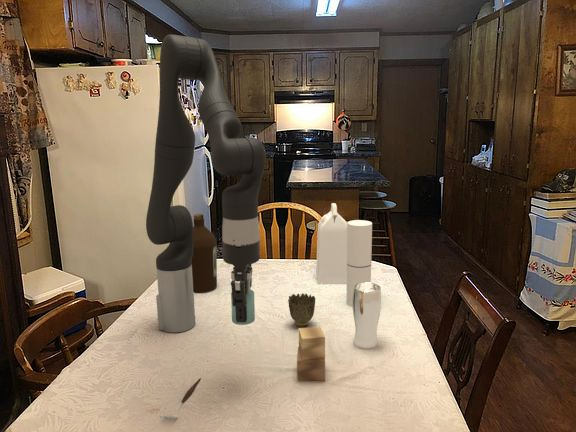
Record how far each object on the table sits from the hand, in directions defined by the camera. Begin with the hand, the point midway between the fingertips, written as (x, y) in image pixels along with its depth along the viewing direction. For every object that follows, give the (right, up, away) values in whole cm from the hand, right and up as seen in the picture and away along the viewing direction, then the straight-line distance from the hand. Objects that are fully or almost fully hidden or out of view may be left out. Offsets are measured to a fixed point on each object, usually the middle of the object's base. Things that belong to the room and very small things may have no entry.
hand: (243, 315), depth 99 cm
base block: (+15, -14, +6) cm, 21 cm away
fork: (-12, -17, -3) cm, 21 cm away
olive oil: (-19, -3, +58) cm, 61 cm away
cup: (+13, -9, +29) cm, 33 cm away
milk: (+25, -1, +65) cm, 70 cm away
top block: (+15, -9, +5) cm, 18 cm away
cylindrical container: (+31, -6, +43) cm, 53 cm away
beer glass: (+29, -11, +19) cm, 36 cm away
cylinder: (0, -1, 0) cm, 1 cm away
